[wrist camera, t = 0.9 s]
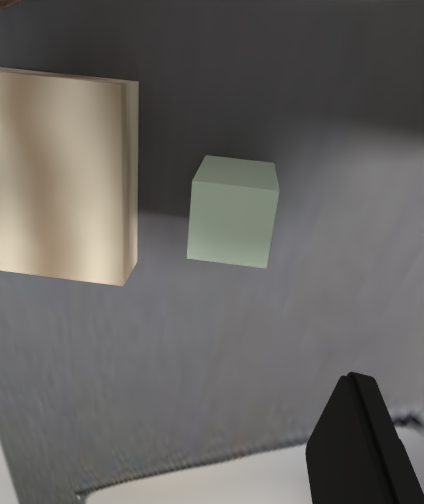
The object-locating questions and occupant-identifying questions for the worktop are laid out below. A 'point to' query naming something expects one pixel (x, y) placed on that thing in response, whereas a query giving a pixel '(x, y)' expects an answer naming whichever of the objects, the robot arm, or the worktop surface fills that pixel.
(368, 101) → the worktop surface
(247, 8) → the worktop surface
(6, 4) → the tin
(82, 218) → the riser block
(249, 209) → the block
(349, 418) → the robot arm
